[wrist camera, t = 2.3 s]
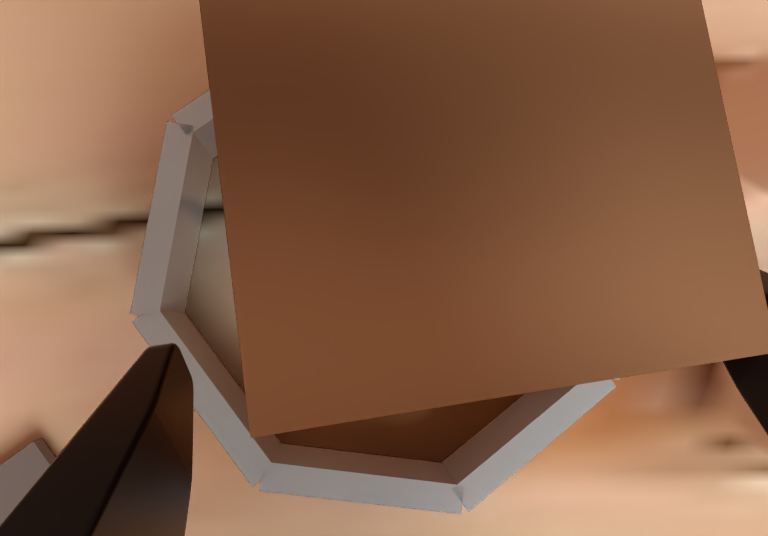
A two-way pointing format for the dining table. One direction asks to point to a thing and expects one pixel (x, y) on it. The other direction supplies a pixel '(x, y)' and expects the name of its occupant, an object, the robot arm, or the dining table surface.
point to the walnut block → (473, 200)
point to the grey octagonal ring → (228, 402)
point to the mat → (22, 474)
